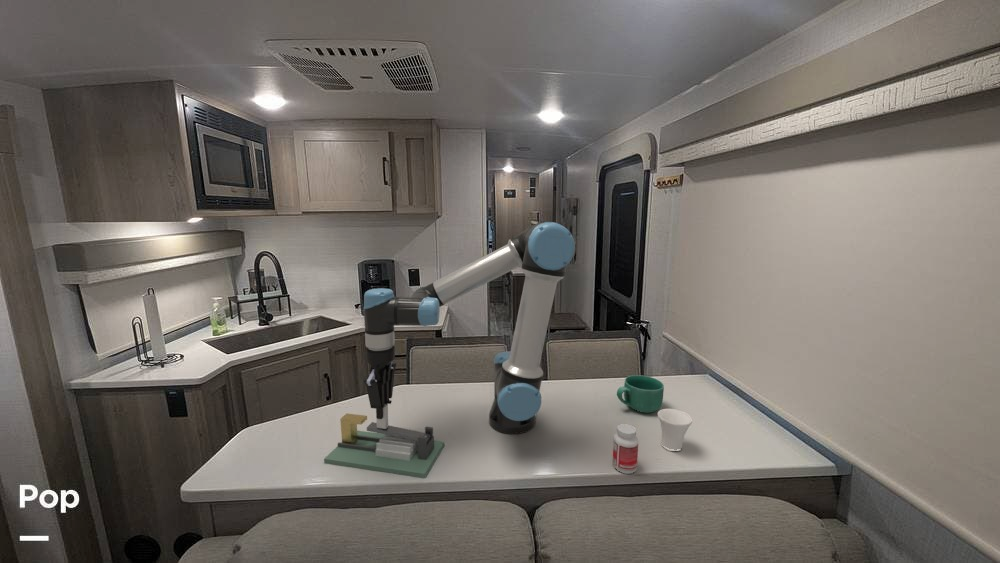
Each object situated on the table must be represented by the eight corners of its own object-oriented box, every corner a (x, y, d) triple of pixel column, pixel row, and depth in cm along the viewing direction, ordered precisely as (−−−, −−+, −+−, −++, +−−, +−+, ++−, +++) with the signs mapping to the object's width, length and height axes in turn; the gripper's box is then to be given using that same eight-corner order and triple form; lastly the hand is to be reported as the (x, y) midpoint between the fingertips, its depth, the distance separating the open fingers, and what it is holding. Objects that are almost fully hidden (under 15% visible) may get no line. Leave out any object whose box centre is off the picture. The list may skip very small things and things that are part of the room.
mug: (647, 397, 135) (649, 373, 134) (670, 414, 123) (672, 388, 122) (606, 402, 132) (607, 377, 131) (625, 420, 120) (627, 393, 118)
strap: (431, 438, 102) (431, 432, 101) (426, 444, 99) (426, 438, 98) (372, 426, 105) (372, 420, 105) (366, 432, 102) (366, 426, 102)
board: (444, 445, 106) (443, 422, 105) (424, 478, 93) (424, 451, 92) (354, 433, 112) (353, 411, 111) (324, 462, 99) (322, 437, 98)
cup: (647, 442, 108) (650, 411, 106) (671, 435, 111) (673, 405, 110) (672, 460, 100) (675, 426, 98) (696, 452, 103) (699, 419, 102)
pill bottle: (641, 469, 96) (644, 430, 95) (626, 478, 93) (629, 438, 91) (622, 456, 101) (624, 419, 100) (607, 464, 98) (609, 426, 96)
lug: (368, 440, 106) (367, 415, 105) (362, 446, 103) (361, 421, 102) (348, 438, 108) (346, 413, 106) (342, 444, 105) (340, 418, 103)
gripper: (380, 337, 106) (382, 413, 110) (353, 353, 93) (356, 438, 97) (404, 340, 104) (405, 416, 108) (380, 356, 92) (382, 442, 95)
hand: (382, 426), depth 103 cm, fingers closed
